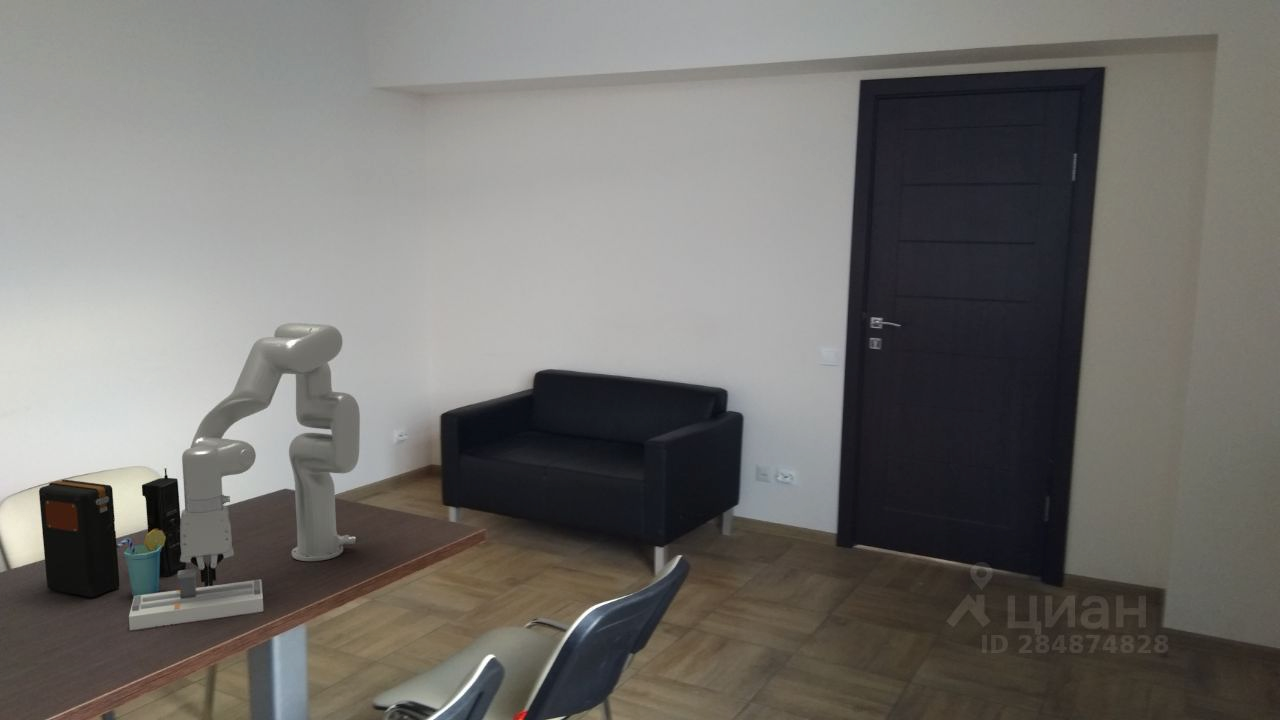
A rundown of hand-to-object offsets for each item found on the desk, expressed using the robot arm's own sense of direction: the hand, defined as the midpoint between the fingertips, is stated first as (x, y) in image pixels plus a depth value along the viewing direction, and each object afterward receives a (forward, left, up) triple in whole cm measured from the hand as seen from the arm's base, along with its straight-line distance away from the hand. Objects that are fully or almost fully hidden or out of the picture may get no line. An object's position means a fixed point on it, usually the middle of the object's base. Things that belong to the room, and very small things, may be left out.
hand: (208, 584), depth 209 cm
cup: (+14, -14, -6) cm, 21 cm away
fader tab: (+4, 0, -2) cm, 5 cm away
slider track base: (+2, 0, -6) cm, 6 cm away
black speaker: (+27, -23, -6) cm, 36 cm away
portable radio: (+10, -28, -6) cm, 30 cm away
